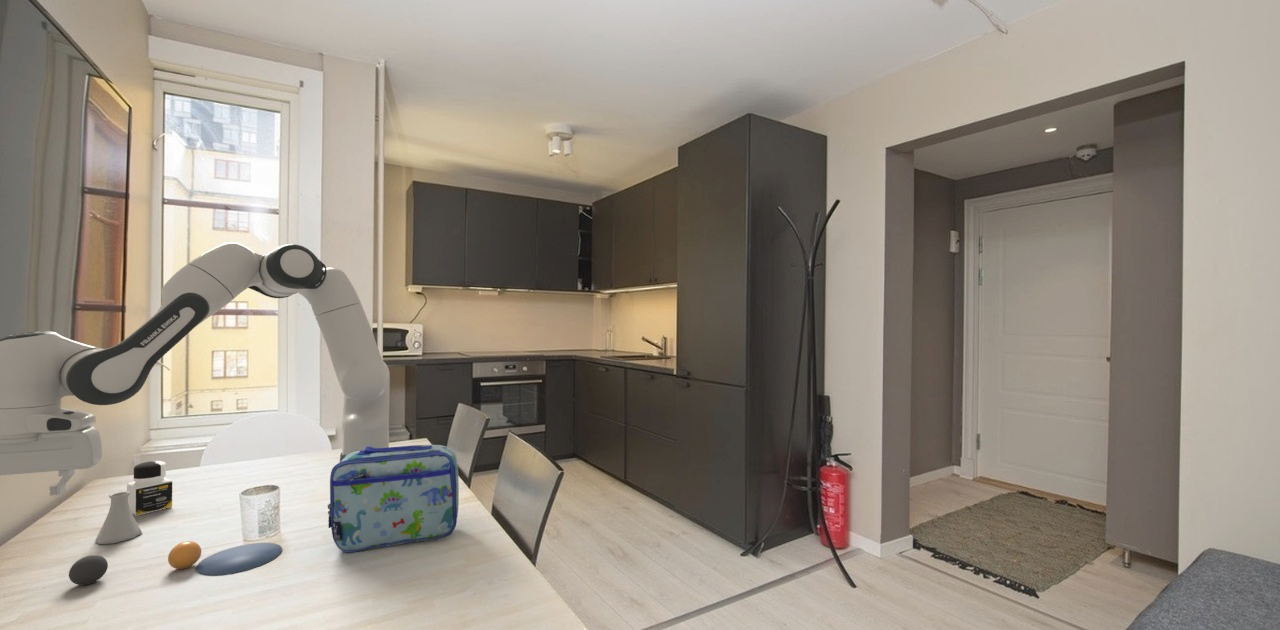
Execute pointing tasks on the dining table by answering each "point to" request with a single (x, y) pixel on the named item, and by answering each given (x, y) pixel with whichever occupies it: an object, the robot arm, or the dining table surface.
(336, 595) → the dining table surface
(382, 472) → the lunch box
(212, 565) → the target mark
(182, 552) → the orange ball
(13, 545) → the dining table surface
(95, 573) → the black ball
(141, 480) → the medicine bottle
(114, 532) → the flask
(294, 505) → the dining table surface
